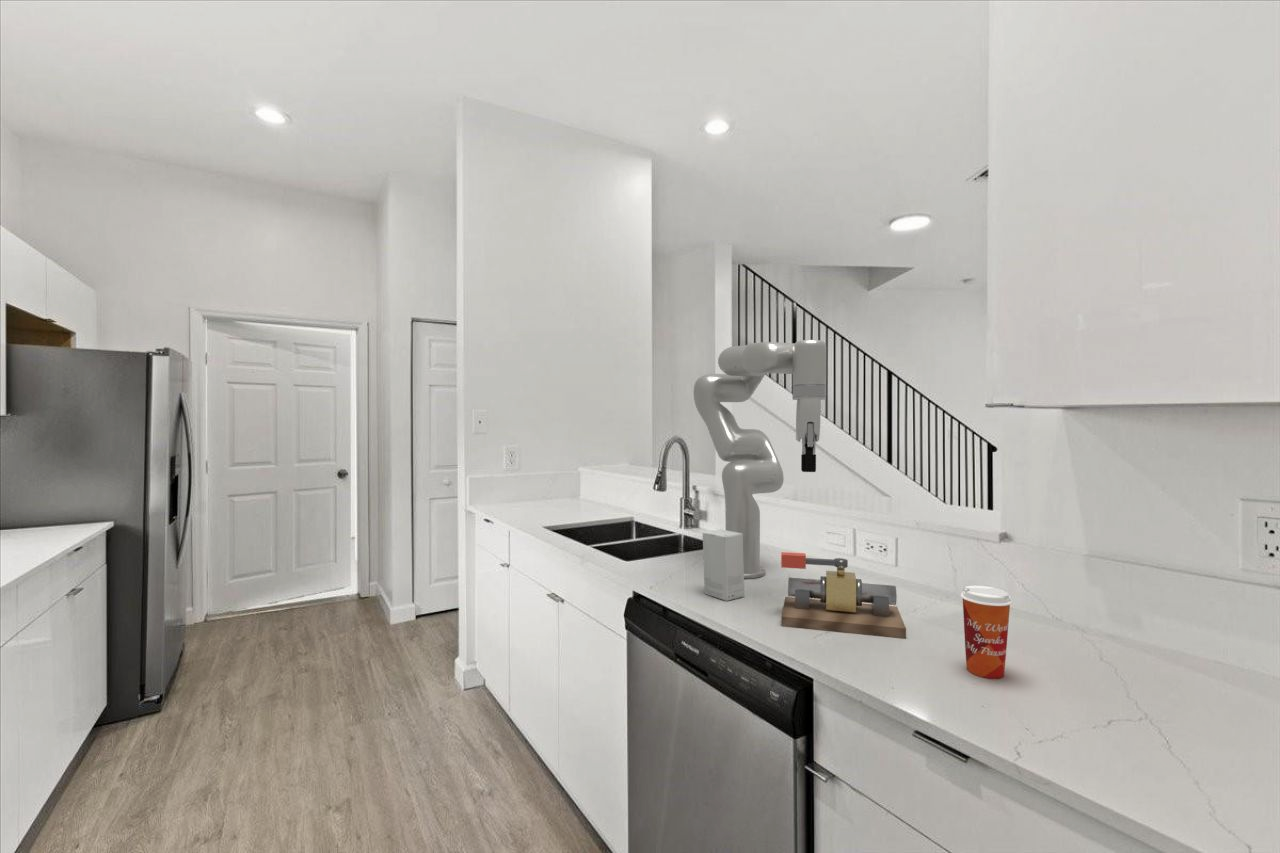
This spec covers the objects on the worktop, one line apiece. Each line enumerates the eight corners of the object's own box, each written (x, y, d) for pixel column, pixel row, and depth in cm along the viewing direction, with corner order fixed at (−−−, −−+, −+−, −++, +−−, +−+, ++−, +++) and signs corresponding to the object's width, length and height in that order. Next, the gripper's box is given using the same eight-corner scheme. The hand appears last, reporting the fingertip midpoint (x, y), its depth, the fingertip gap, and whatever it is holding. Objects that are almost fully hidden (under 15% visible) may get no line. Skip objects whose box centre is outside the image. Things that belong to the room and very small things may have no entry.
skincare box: (745, 597, 143) (745, 533, 143) (724, 602, 140) (724, 536, 139) (721, 589, 150) (721, 528, 150) (701, 593, 147) (701, 530, 146)
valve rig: (781, 625, 124) (781, 573, 124) (785, 605, 137) (785, 558, 137) (905, 638, 117) (906, 583, 117) (896, 615, 130) (897, 565, 130)
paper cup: (963, 677, 100) (964, 595, 99) (956, 659, 107) (957, 582, 106) (1017, 684, 97) (1018, 600, 97) (1006, 666, 104) (1007, 587, 104)
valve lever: (846, 568, 129) (847, 555, 129) (848, 571, 127) (848, 558, 127) (781, 564, 133) (781, 552, 133) (781, 567, 130) (781, 554, 130)
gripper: (791, 394, 146) (790, 468, 147) (794, 392, 132) (793, 474, 132) (822, 394, 145) (822, 469, 145) (829, 392, 130) (828, 475, 130)
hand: (808, 471), depth 139 cm, fingers closed
